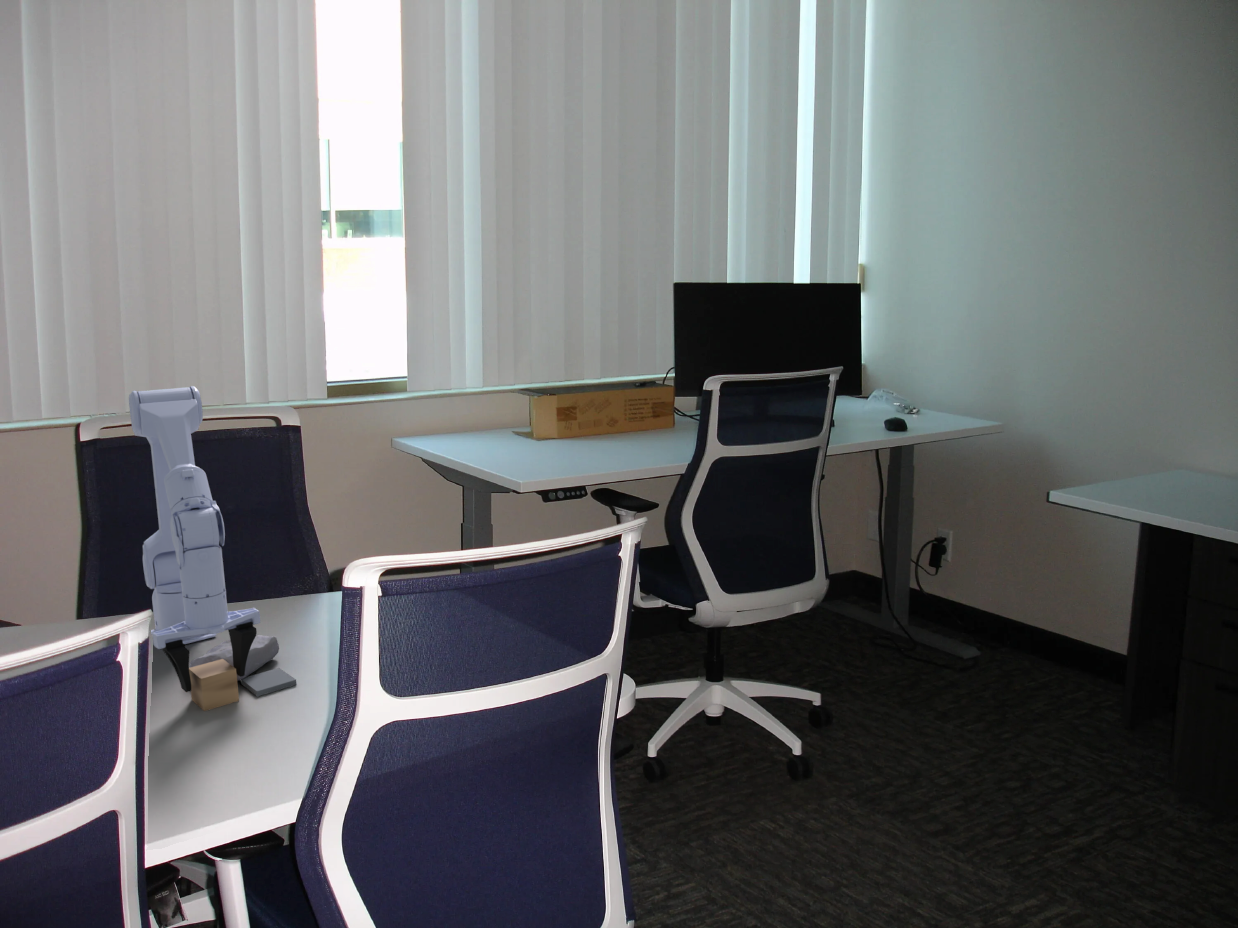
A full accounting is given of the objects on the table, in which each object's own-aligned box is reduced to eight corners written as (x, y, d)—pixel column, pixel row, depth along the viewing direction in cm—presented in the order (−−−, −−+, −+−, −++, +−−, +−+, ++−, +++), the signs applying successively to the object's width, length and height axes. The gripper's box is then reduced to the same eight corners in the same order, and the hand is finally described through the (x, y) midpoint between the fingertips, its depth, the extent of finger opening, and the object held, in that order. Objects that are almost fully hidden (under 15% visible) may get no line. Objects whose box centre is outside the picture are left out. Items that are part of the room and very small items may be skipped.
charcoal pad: (241, 683, 157) (240, 678, 157) (279, 672, 161) (279, 667, 161) (257, 696, 153) (256, 691, 152) (296, 684, 156) (296, 679, 156)
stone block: (188, 693, 157) (244, 680, 155) (178, 663, 157) (234, 649, 154) (233, 666, 169) (286, 654, 166) (224, 638, 168) (277, 625, 166)
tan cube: (191, 700, 152) (188, 668, 151) (226, 690, 155) (222, 658, 154) (204, 711, 148) (200, 678, 147) (239, 701, 151) (236, 668, 150)
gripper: (160, 611, 140) (171, 705, 143) (265, 586, 150) (273, 675, 153) (143, 598, 146) (154, 689, 148) (245, 575, 155) (254, 661, 158)
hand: (213, 681), depth 151 cm, fingers open, 7 cm apart
